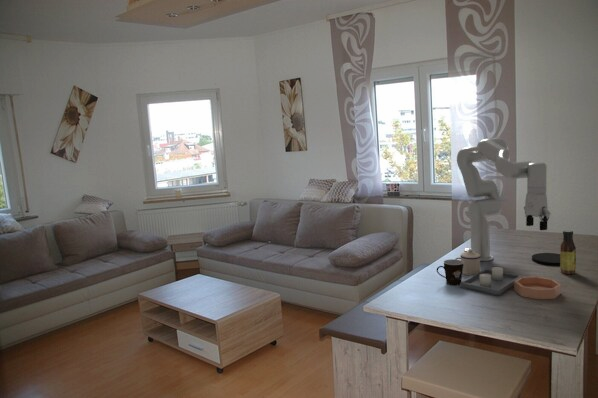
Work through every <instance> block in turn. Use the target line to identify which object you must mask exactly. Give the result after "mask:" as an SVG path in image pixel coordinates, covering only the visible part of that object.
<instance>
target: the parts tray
mask: <svg viewBox="0 0 598 398" xmlns="http://www.w3.org/2000/svg"><path fill="white" fill-rule="evenodd" d="M480 274H489V275H491V287H490V288H487V287H483V286H480ZM520 277H523V275H522V274H516V273H509V272H504V271H503V280H501V281H496V280H493V279H492V269H488V268H484V269H483V270H480V272H479V273H477V274H475V275H473V276H469V277H467V278H466V279H464V280H463V281H461V282H460V285H459V288H460V289H464V290H468V291H469V290H470V291H473V292H476V293H477V292H478V293H483V294H487V295H490V296H491V295H492V296H495V297H500V296H502V295H503V294H504V293H506V292H507V291H509V290H511V289H513V288H514V281H515V280H517V279H519V278H520Z"/></svg>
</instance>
